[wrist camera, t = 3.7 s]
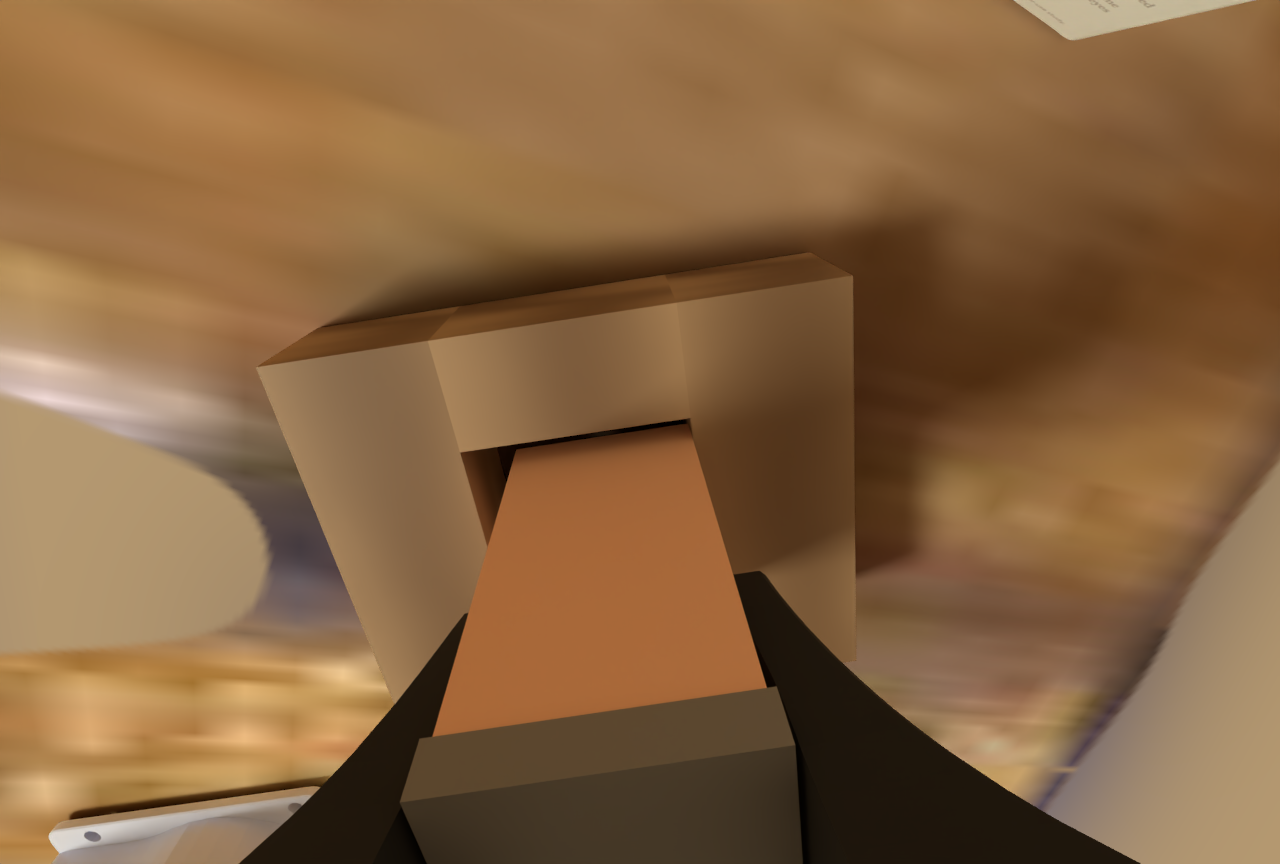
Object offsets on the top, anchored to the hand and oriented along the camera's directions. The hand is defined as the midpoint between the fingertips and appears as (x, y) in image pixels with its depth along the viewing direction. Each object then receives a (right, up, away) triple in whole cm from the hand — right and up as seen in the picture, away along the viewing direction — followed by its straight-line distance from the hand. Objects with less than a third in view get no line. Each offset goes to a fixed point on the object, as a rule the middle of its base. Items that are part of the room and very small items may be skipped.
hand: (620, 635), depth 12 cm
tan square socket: (-1, +3, +6) cm, 7 cm away
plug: (0, +2, +4) cm, 4 cm away
